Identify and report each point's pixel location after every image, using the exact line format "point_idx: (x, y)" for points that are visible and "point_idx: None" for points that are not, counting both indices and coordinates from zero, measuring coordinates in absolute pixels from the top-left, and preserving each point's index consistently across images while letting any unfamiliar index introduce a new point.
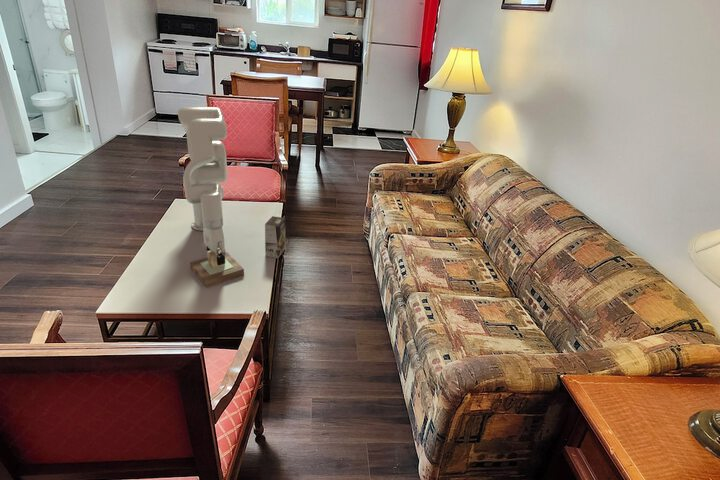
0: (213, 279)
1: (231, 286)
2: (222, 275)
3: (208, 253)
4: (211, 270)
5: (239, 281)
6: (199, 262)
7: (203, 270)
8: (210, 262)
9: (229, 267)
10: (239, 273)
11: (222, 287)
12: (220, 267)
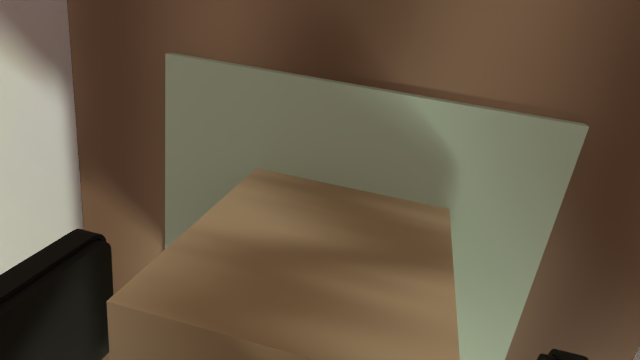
0: (80, 37)
1: (34, 153)
2: (85, 170)
3: (365, 353)
4: (248, 132)
5: None
6: (624, 135)
7: (343, 44)
8: (329, 220)
9: None
10: None
11: (55, 77)
12: None
